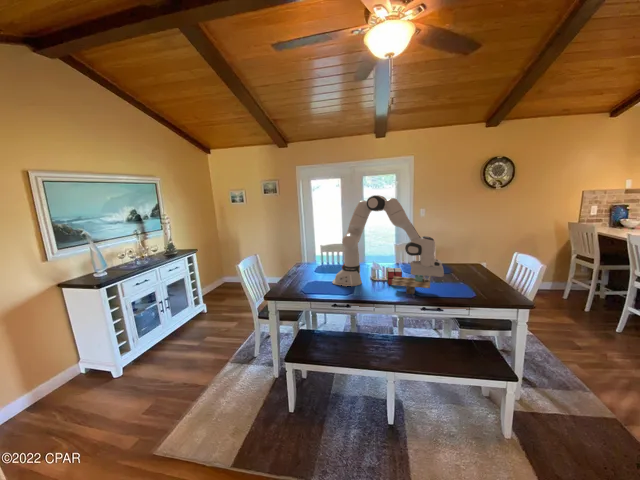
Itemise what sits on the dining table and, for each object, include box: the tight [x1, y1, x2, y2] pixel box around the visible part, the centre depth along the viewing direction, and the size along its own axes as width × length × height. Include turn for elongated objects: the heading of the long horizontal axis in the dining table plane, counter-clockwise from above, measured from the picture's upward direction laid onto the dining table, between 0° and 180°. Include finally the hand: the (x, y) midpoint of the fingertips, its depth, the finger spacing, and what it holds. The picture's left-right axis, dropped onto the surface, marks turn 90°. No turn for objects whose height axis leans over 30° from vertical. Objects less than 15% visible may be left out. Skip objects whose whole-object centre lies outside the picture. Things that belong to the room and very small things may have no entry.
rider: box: [414, 275, 424, 282], centre depth 181 cm, size 4×5×5 cm
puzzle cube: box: [386, 267, 403, 286], centre depth 203 cm, size 10×10×10 cm
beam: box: [391, 276, 431, 295], centre depth 183 cm, size 24×9×9 cm, turn 67°
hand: (426, 281), depth 179 cm, fingers closed
